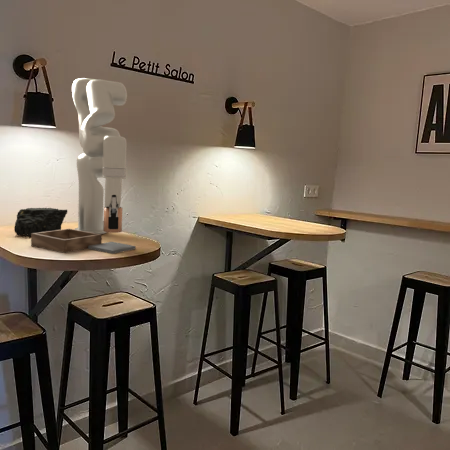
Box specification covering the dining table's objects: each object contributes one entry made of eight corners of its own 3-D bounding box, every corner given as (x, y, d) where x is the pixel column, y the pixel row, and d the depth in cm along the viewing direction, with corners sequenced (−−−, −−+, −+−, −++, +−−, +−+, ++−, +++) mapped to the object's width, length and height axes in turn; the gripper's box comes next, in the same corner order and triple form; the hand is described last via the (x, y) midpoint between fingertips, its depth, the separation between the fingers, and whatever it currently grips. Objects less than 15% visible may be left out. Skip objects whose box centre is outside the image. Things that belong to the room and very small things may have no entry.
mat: (111, 244, 160) (111, 241, 160) (135, 249, 154) (135, 246, 154) (88, 248, 150) (88, 245, 150) (112, 253, 145) (112, 250, 145)
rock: (21, 230, 177) (13, 236, 162) (21, 206, 175) (13, 210, 161) (69, 231, 181) (64, 237, 166) (69, 207, 180) (64, 211, 165)
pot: (112, 229, 155) (113, 205, 154) (125, 231, 152) (126, 207, 151) (99, 230, 150) (100, 206, 149) (113, 233, 147) (113, 208, 146)
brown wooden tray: (69, 239, 164) (69, 228, 163) (101, 245, 156) (101, 234, 156) (31, 245, 150) (31, 233, 149) (64, 252, 142) (64, 240, 142)
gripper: (102, 172, 156) (101, 223, 158) (102, 174, 139) (101, 231, 142) (124, 173, 158) (123, 224, 160) (127, 175, 141) (125, 231, 144)
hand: (112, 227), depth 151 cm, fingers closed on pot, 6 cm apart
